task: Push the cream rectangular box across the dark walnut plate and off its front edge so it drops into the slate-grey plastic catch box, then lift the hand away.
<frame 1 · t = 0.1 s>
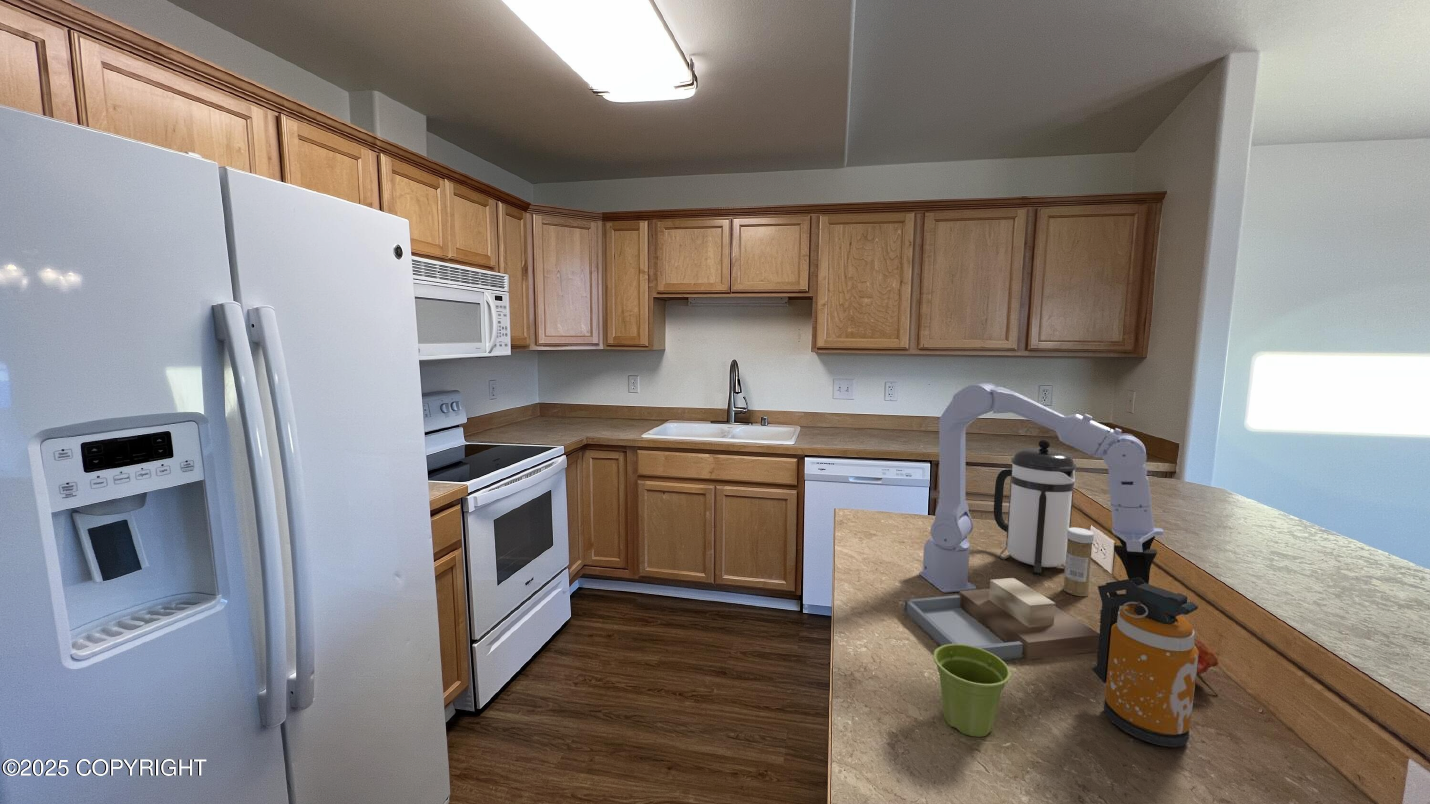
hand: (1139, 580, 92), 10 cm above the countertop, tool pointing down, fingers open, 7 cm apart
coffee press: (1029, 562, 125), on the countertop
canister: (1134, 722, 72), on the countertop
pomegranate: (1184, 682, 81), on the countertop
cream rectangular box: (1019, 611, 96), point 3 cm above the countertop, touching walnut plate
walnut plate: (1023, 626, 96), on the countertop
plant pot: (967, 722, 72), on the countertop
sprinkles bottle: (1075, 592, 110), on the countertop
catch box: (958, 633, 94), on the countertop
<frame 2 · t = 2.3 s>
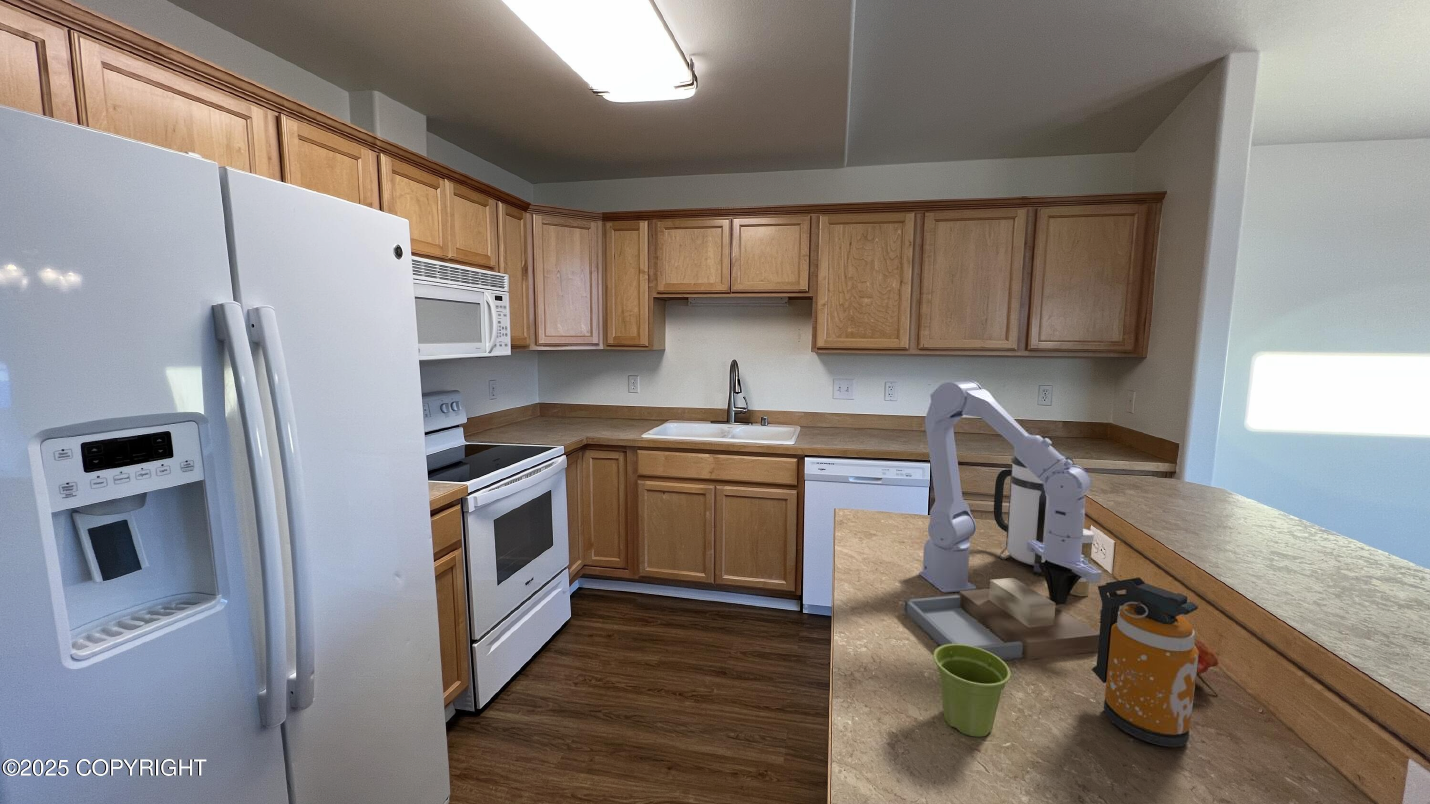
hand: (1058, 602, 97), 4 cm above the countertop, tool pointing down, fingers closed
nothing on the countertop moved.
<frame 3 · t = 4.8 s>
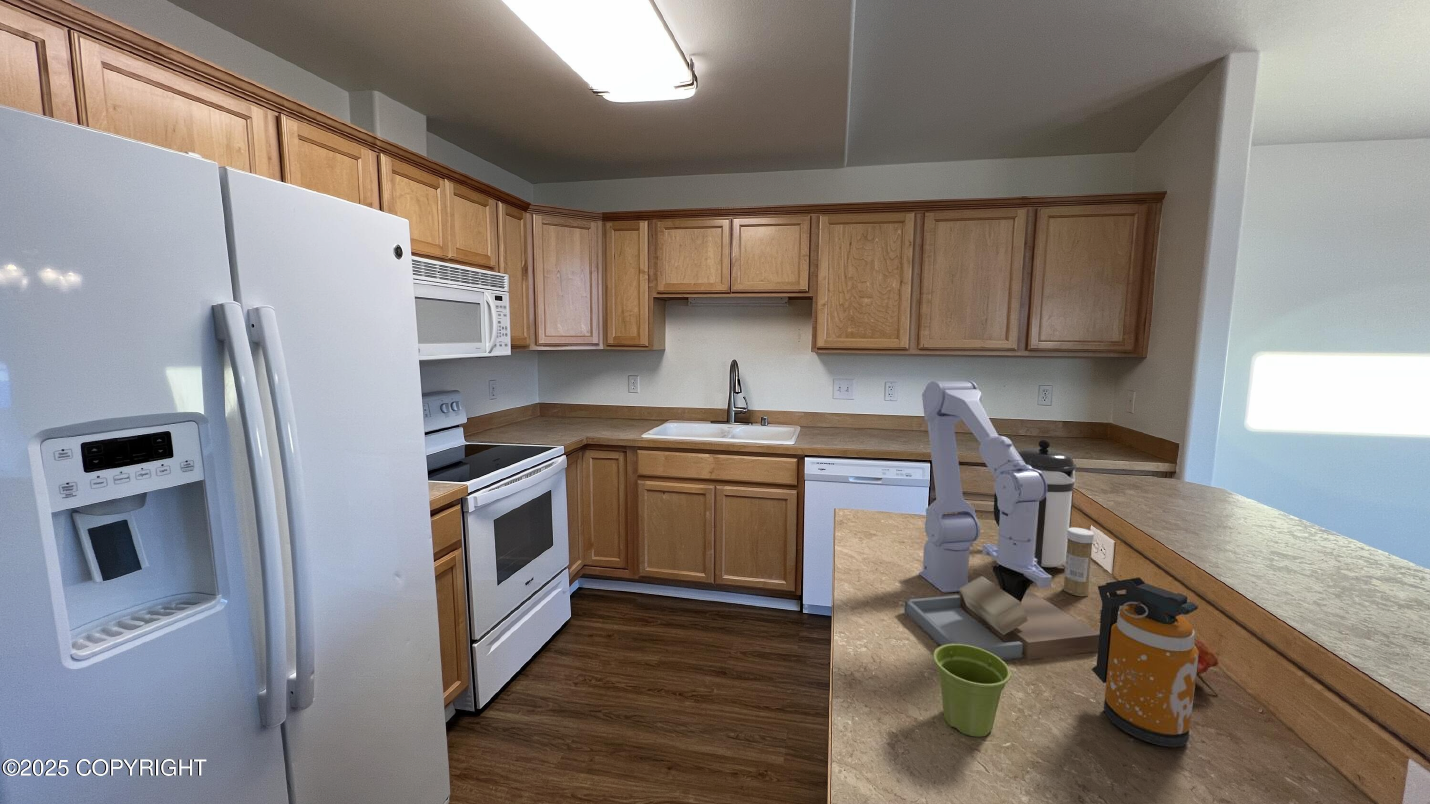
hand: (1011, 607, 95), 4 cm above the countertop, tool pointing down, fingers closed
cream rectangular box: (995, 612, 94), point 3 cm above the countertop, tilted 26°, touching gripper
everything else where it was.
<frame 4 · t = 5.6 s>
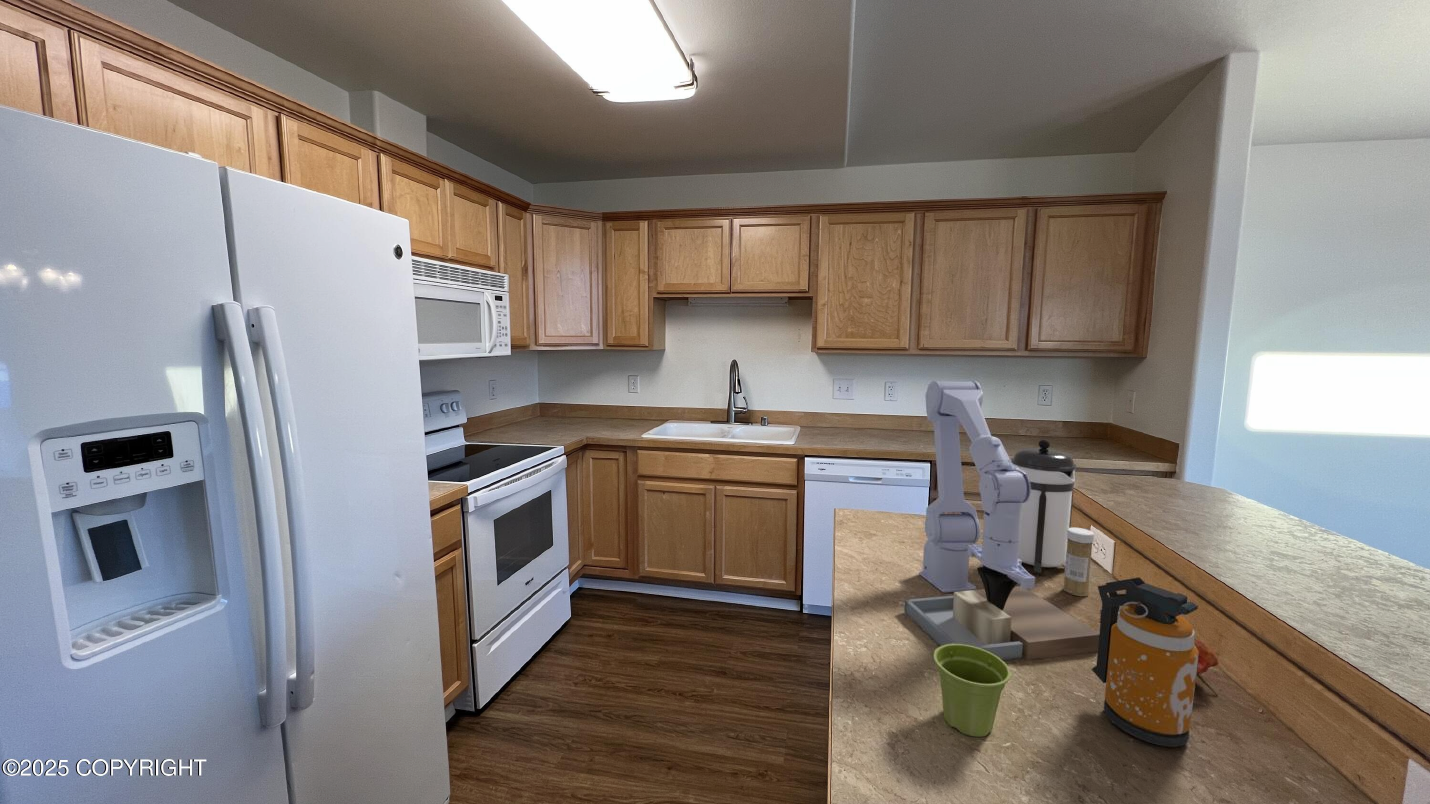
hand: (996, 608, 95), 4 cm above the countertop, tool pointing down, fingers closed, pressing on cream rectangular box
cream rectangular box: (990, 616, 94), point 3 cm above the countertop, tilted 91°, touching catch box, gripper
everything else where it was.
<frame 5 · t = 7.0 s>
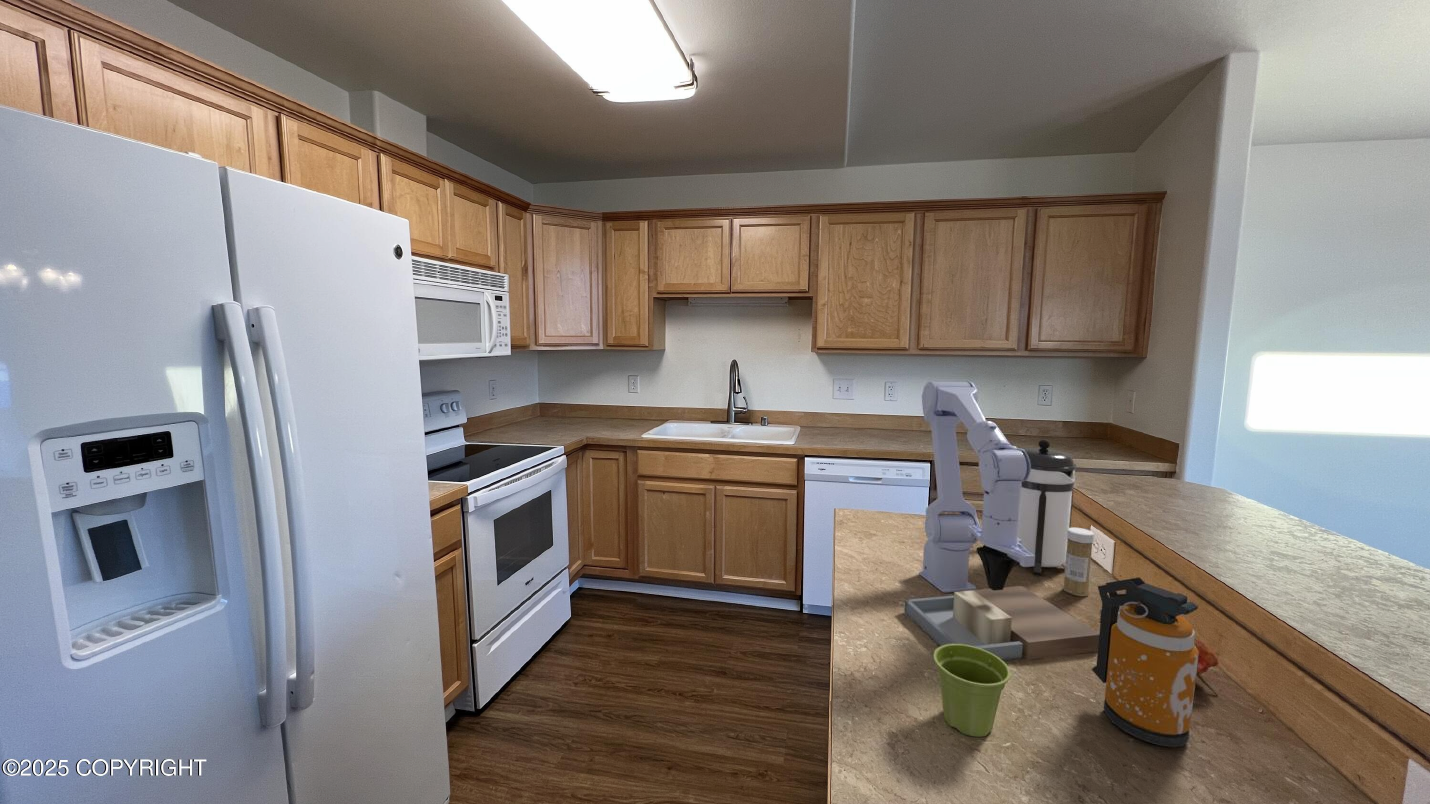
hand: (995, 588, 94), 8 cm above the countertop, tool pointing down, fingers closed
cream rectangular box: (990, 616, 94), point 3 cm above the countertop, tilted 90°, touching catch box
everything else where it was.
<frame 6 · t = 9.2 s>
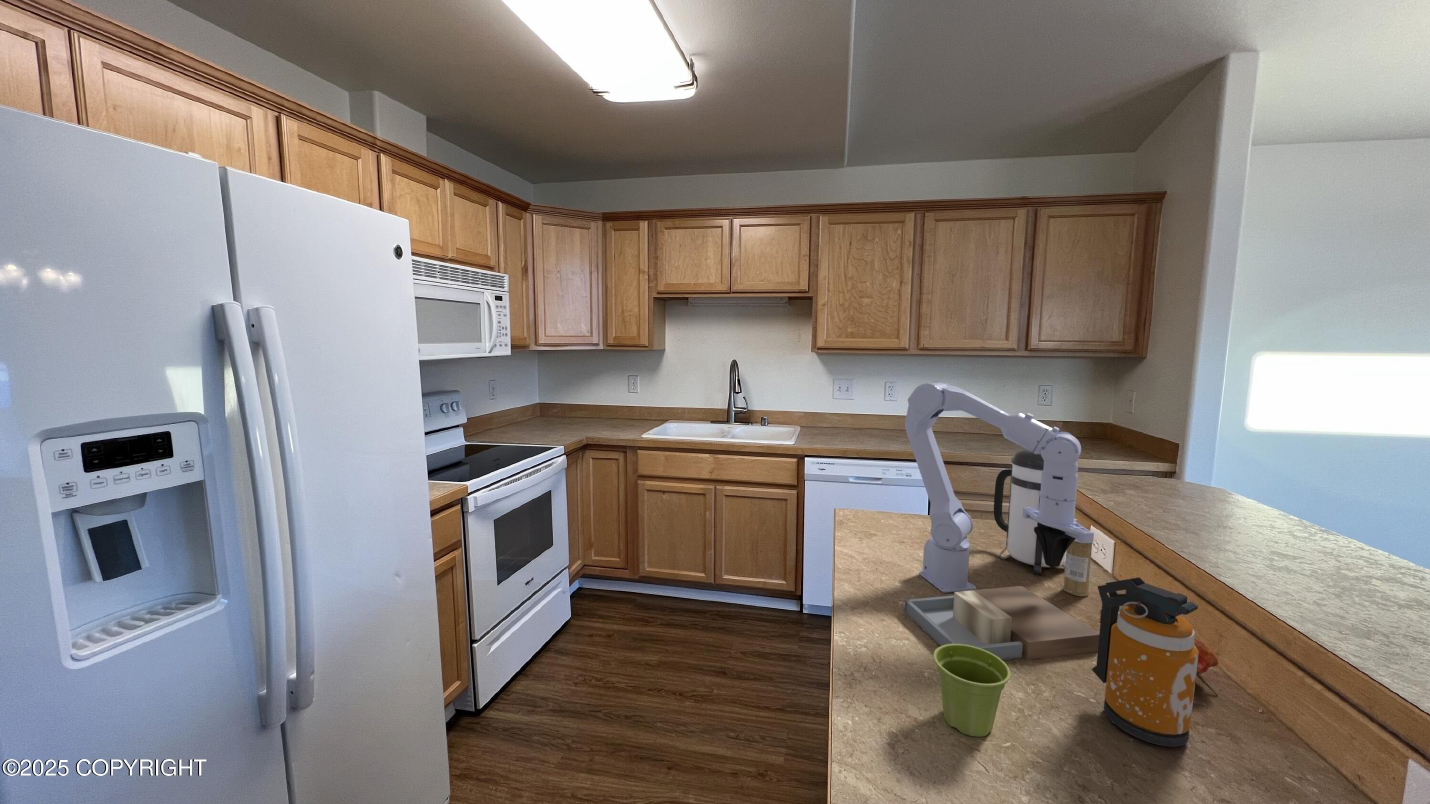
hand: (1052, 565, 101), 9 cm above the countertop, tool pointing down, fingers closed
nothing on the countertop moved.
at the end: cream rectangular box inside the target area on the catch box (5.6 cm from its centre), point 2.8 cm above the catch box's base; cream rectangular box point 2.8 cm above the countertop; the gripper is holding nothing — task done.
